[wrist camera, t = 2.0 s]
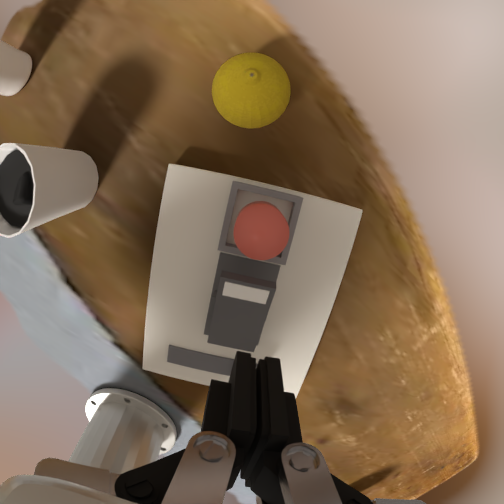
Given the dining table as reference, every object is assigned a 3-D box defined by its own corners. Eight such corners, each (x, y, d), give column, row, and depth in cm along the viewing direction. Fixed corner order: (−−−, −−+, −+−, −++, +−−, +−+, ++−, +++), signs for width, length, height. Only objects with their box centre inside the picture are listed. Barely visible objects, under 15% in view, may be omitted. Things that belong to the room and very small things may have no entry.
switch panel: (293, 387, 31) (296, 409, 27) (147, 358, 30) (138, 377, 26) (355, 207, 25) (369, 212, 22) (175, 163, 24) (163, 163, 21)
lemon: (258, 147, 24) (262, 136, 16) (205, 110, 23) (185, 86, 16) (297, 97, 23) (316, 68, 15) (244, 62, 22) (241, 21, 14)
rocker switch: (254, 345, 25) (253, 352, 25) (208, 335, 25) (206, 343, 24) (276, 282, 22) (276, 289, 21) (221, 270, 22) (220, 277, 21)
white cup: (102, 141, 24) (35, 133, 14) (104, 212, 25) (40, 236, 16) (48, 151, 24) (-22, 152, 14) (51, 216, 25) (-16, 239, 16)
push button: (277, 253, 23) (281, 265, 20) (231, 242, 23) (228, 253, 20) (289, 207, 22) (295, 212, 19) (241, 195, 22) (240, 199, 19)
